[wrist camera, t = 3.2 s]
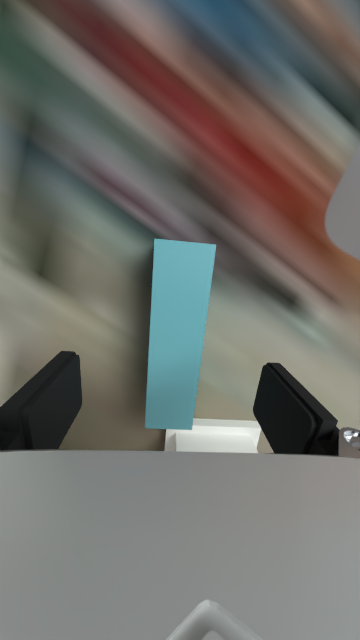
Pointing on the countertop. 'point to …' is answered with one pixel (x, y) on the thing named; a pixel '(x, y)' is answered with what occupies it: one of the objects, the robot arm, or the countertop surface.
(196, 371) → the teal rectangular stick
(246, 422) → the display cradle
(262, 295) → the countertop surface
